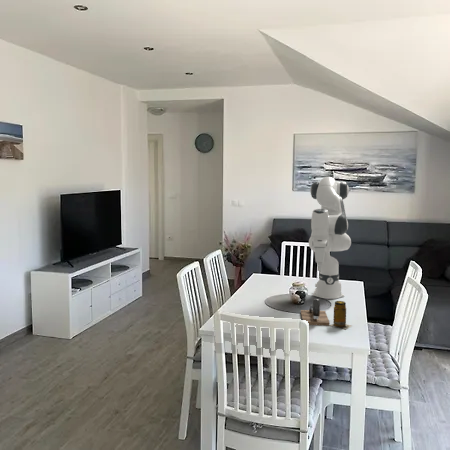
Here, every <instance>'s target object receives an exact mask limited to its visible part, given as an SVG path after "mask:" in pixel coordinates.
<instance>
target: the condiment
mask: <svg viewBox="0 0 450 450" xmlns="http://www.w3.org/2000/svg"><path fill="white" fill-rule="evenodd" d="M332 321H333V323H332V324H330V325H329V326H331V327H334V328H339V329H343V330H347V329H349V328H352V327H353V325H350V324H347V306H346V302H345V301H344V300H336V301H334V306H333V320H332Z"/></svg>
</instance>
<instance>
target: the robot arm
mask: <svg viewBox="0 0 450 450" xmlns="http://www.w3.org/2000/svg"><path fill="white" fill-rule="evenodd" d="M309 193H310V195H311V198H313V199H314V200H316V201H317V203H318V204H319V205H320V208H317V209H313V211H312V213H311V219H309V220H310V221H309V229H310V230H311V234H310V237H309V239H308V245H309V248H310V249H311V250H312V251H313V252H314V261H315V263H316V265H317V271H318V272H319V274H318V279H319V280H318V281H317V282H316V283H315V284H314V287H315V289H314V291H313V293H312V296H313V297H318V298H319V299H320V298H321V299H329V300H333V299H334V300H336V299H340V298H342V297H343V298H344V297H345V294H344V293H342V282H340V273H339V267H340V266H339V264H340V263H339V261H338V259H337V258H336V257H334V256H332V255H331V253H330V252H343V251H348V250H349V249H350V247H351V245H352V239H351V237H350V236H349V234H347V232H348V229H349V222H348V218H347V216H346V215H347V214H346V210H345V209H346V208H345V204H344V201H343V200H345V199H346V198H347V197H348V195H349V193H350V188H349V185H348V183H347V182H346V181H338V180H336V179H335V178H333V177H331V176H324V177H323V178H322V179H320V181H314V182H313V183H312V184H311V186H310V192H309Z"/></svg>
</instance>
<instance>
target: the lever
mask: <svg viewBox="0 0 450 450" xmlns="http://www.w3.org/2000/svg"><path fill="white" fill-rule="evenodd" d="M308 306H309V307H308V308H309V309H308V310H309V311H310V312H312V315H313V319H318V316H320V311H321V299H320V298H312V304H309V305H308Z"/></svg>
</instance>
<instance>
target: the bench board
mask: <svg viewBox="0 0 450 450" xmlns="http://www.w3.org/2000/svg"><path fill="white" fill-rule="evenodd" d="M300 316H301V320H302V319H303V320H306V321H308V323H309V325H308V326H326V327H327V326H328V327H329V326H330V325H331V324H330V321H329V317H328V314H327V313H326V310H320V316H318V319H313V315H312V312H310V311H309V309H307V310H306V309H300Z"/></svg>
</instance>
